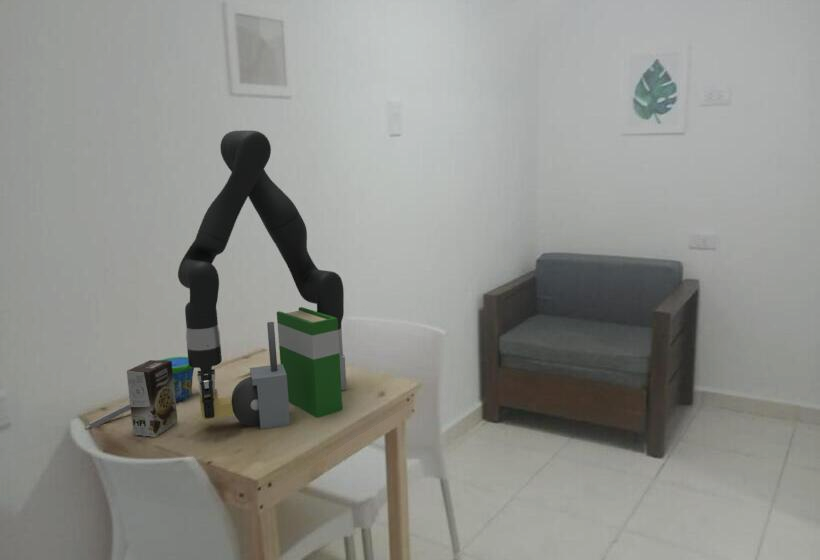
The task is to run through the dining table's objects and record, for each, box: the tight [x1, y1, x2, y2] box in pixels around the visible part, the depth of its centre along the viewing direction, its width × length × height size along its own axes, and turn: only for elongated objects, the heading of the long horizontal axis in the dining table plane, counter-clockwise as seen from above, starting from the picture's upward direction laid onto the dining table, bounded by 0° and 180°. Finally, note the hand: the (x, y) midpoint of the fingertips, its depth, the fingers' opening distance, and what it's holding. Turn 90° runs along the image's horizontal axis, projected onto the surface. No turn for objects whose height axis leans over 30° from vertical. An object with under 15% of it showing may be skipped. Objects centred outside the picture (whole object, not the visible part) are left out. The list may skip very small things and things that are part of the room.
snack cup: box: [161, 356, 195, 402], centre depth 181 cm, size 16×10×10 cm
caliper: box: [84, 402, 131, 431], centre depth 169 cm, size 20×1×6 cm, turn 138°
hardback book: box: [276, 306, 344, 419], centre depth 171 cm, size 18×7×24 cm, turn 39°
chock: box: [198, 388, 235, 422], centre depth 159 cm, size 7×5×6 cm
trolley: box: [231, 321, 291, 430], centre depth 160 cm, size 13×9×25 cm
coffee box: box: [126, 359, 179, 438], centre depth 159 cm, size 9×6×16 cm
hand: (209, 413), depth 158 cm, fingers closed on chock, 5 cm apart
